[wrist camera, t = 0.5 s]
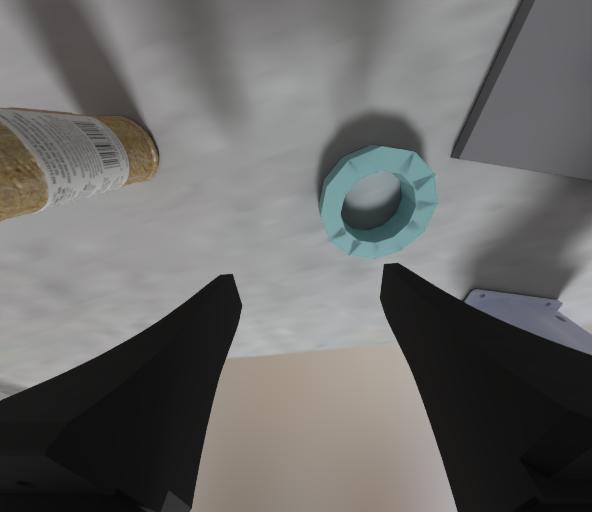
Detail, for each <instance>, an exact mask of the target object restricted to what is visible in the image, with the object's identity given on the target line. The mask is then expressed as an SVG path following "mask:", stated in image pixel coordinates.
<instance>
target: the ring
mask: <svg viewBox="0 0 592 512" xmlns="http://www.w3.org/2000/svg"><path fill="white" fill-rule="evenodd" d="M378 171H386V172H392V173H393V174H394V175H395V176H396V177H397V178H398V179H399V180H400V186H401V192H402V199H401V201H400V204H399V207H398V209H397V212H396V214H394V215H393V216H392V217H391V218H390V219H389V220H388V221H387V222H386V223H385V224H384V225H382V226H379V227H376V228H373V229H370V230H360V229H353V228H351V227H350V226H348V225H347V224H346V223H345V222H344V221H342V218H341V214H340V213H341V209H342V205H343V202H344V198H345V195H346V194H347V192H348V191H349V190H350V189H351V188H352V187H353V186H354V185H355V184H356V182H357V181H358V180H359V179H361V178H363V177H366V176H368V175H371V174H373V173H376V172H378ZM437 204H438V202H437V189H436V177H435V173H434V172H433V171H432V170H431V169H430V167H429V166H428V165H427V164H426V163H425V162H424V161H423V160H422V159H421V158H420V157H419V155H418V154H417V153H416V152H415V151H409V150H403V149H396V148H389V147H383V146H378V145H369V146H367V147H365V148H362V149H360V150H357V151H355V152H353V153H350V154H348V155H346V156H343V157H342V158H341V159H340V161H339V162H338V163H337V164H336V166H335V167H334V168H333V169H332V171H331V172H330V173H329V174H328V175H327V177H326V178H325V179H324V181H323V187H322V192H321V197H320V202H319V211H320V216H321V218H322V221H323V224H324V227H325V229H326V232H327V235H328V238H329V241H331V242H332V243H334V244H335V245H336V246H338V247H339V248H340V249H341V250H343V251H344V252H345V253H347V254H348V255H351V256H359V257H366V258H373V259H375V258H378V257H382V256H385V255H388V254H391V253H395V252H398V251H401V250H402V249H404V248H405V247H406V246H407V245H408V244H410V243H411V242H412V241H413V240H414V239H416V238H417V237H418V236H419V235H420V234H422V233H423V232H424V231H425V229H426V227H427V225H428V222H429V220H430V218H431V216H432V214H433V212H434V210H435V208H436V206H437Z"/></svg>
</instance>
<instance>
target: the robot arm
mask: <svg viewBox="0 0 592 512" xmlns="http://www.w3.org/2000/svg"><path fill="white" fill-rule="evenodd" d="M380 300H381V303H382V307H383V310H384V313H385V316H386V318H387V320H388V323H389V325H390V327H391V329H392V331H393V333H394V335H395V337H396V339H397V341H398V343H399V345H400V347H401V349H402V352H403V354H404V356H405V358H406V360H407V362H408V364H409V366H410V369H411V371H412V373H413V376H414V379H415V381H416V384H417V387H418V390H419V392H420V395H421V398H422V400H423V403H424V406H425V409H426V412H427V415H428V418H429V421H430V423H431V426H432V430H433V432H434V435H435V439H436V442H437V445H438V448H439V451H440V454H441V457H442V460H443V464H444V467H445V470H446V474H447V477H448V480H449V484H450V487H451V490H452V494H453V497H454V500H455V504H456V507H457V511H458V512H592V335H591V334H590V333H589V332H587V331H586V330H584V329H583V328H581V327H580V326H578V325H577V324H576V323H574V322H573V321H571V320H570V319H568V318H567V317H566V316H564V315H563V314H561V313H560V312H558V311H557V310H558V309H559V308H560V307H561V306H562V304H563V303H562V302H560V301H559V300H554V299H547V298H539V297H532V296H525V295H517V294H510V293H502V292H495V291H488V290H480V289H475V290H473V291H472V292H471V293H470V294H469V296H468V297H467V298H466V300H465V301H464V302H463V301H461V300H459V299H457V298H455V297H454V296H452V295H450V294H448V293H446V292H445V291H443V290H441V289H440V288H438V287H436V286H434V285H433V284H431V283H430V282H428V281H426V280H425V279H423V278H422V277H420V276H418V275H417V274H415V273H414V272H412V271H410V270H409V269H407V268H406V267H404V266H402V265H400V264H399V263H392V264H384V269H383V277H382V285H381V293H380ZM241 309H242V303H241V300H240V297H239V293H238V290H237V287H236V283H235V280H234V277H233V274H225V275H220V276H218V277H217V278H215V279H214V280H213V281H211V282H210V283H209V284H208V285H206V286H205V287H204V288H203V289H201V290H200V291H199V292H197V293H196V294H195V295H194V296H192V297H191V298H190V299H189V300H187V301H186V302H185V303H183V304H182V305H181V306H179V307H178V308H176V309H175V310H174V311H172V312H171V313H170V314H168V315H167V316H165V317H164V318H163V319H161V320H160V321H158V322H157V323H155V324H154V325H152V326H150V327H149V328H147V329H146V330H144V331H142V332H141V333H139V334H137V335H136V336H134V337H132V338H131V339H129V340H127V341H125V342H123V343H122V344H120V345H118V346H116V347H114V348H113V349H111V350H109V351H107V352H105V353H103V354H102V355H100V356H98V357H96V358H94V359H92V360H90V361H88V362H86V363H84V364H82V365H79V366H77V367H75V368H73V369H71V370H69V371H67V372H65V373H63V374H60V375H58V376H56V377H54V378H52V379H49V380H47V381H45V382H42V383H40V384H38V385H35V386H33V387H31V388H29V389H26V390H24V391H22V392H19V393H17V394H15V395H12V396H10V397H7V398H5V399H3V400H1V401H0V512H190V510H191V509H192V503H193V497H194V491H195V486H196V480H197V475H198V470H199V464H200V459H201V453H202V449H203V444H204V439H205V435H206V430H207V425H208V421H209V417H210V413H211V408H212V404H213V400H214V396H215V392H216V388H217V384H218V380H219V377H220V374H221V371H222V368H223V365H224V362H225V360H226V357H227V354H228V351H229V349H230V346H231V343H232V340H233V338H234V335H235V332H236V329H237V326H238V323H239V319H240V314H241Z"/></svg>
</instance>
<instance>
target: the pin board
mask: <svg viewBox="0 0 592 512" xmlns="http://www.w3.org/2000/svg"><path fill="white" fill-rule="evenodd" d="M451 158H457V159H463V160H469V161H476V162H482V163H488V164H494V165H500V166H507V167H513V168H519V169H525V170H531V171H538V172H544V173H550V174H556V175H562V176H569V177H575V178H581V179H587V180H592V0H523V2H522V4H521V6H520V8H519V10H518V12H517V15H516V17H515V19H514V21H513V23H512V25H511V28H510V30H509V32H508V34H507V36H506V38H505V41H504V43H503V45H502V47H501V49H500V51H499V54H498V56H497V58H496V60H495V62H494V65H493V67H492V69H491V71H490V73H489V75H488V78H487V80H486V82H485V84H484V86H483V88H482V91H481V93H480V95H479V97H478V99H477V101H476V104H475V106H474V108H473V110H472V112H471V114H470V117H469V119H468V121H467V123H466V125H465V127H464V130H463V132H462V134H461V136H460V138H459V140H458V143H457V145H456V147H455V149H454V151H453V153H452V156H451Z"/></svg>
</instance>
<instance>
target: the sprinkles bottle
mask: <svg viewBox="0 0 592 512" xmlns="http://www.w3.org/2000/svg"><path fill="white" fill-rule="evenodd" d="M158 162H159V156H158V153H157V149H156V147H155V145H154V143H153V141H152V139H151V138H150V136H149V135H148V134H147V132H146V131H145V130H144V129H143V128H142V127H140V126H139V125H138V124H136V123H135V122H133V121H132V120H129V119H127V118H125V117H122V116H107V117H101V116H89V115H78V114H73V113H69V112H59V111H48V110H36V109H25V108H14V107H11V108H0V222H1V221H3V220H5V219H9V218H13V217H17V216H21V215H24V214H32V213H36V212H40V211H43V210H46V209H50V208H53V207H56V206H60V205H63V204H66V203H70V202H73V201H77V200H80V199H83V198H87V197H90V196H94V195H97V194H101V193H104V192H108V191H111V190H115V189H117V188H119V187H121V186H125V185H128V184H132V183H135V182H145V181H147V180H149V179H151V178H152V177H153V176H154V175H155V173H156V172H157V168H158V165H159V164H158Z"/></svg>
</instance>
